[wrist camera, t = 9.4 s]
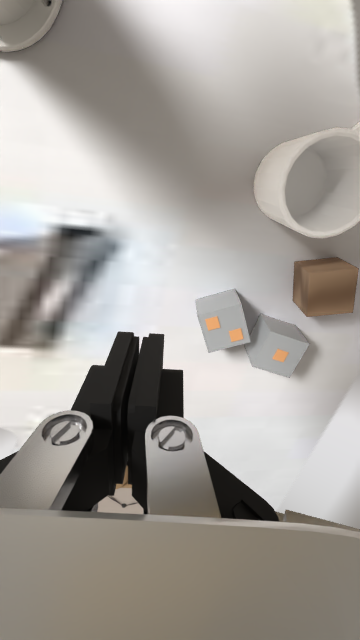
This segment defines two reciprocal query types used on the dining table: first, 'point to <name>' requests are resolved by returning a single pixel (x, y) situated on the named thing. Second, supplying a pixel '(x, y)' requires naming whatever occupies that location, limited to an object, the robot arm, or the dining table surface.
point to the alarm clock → (121, 500)
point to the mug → (313, 182)
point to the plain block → (324, 286)
